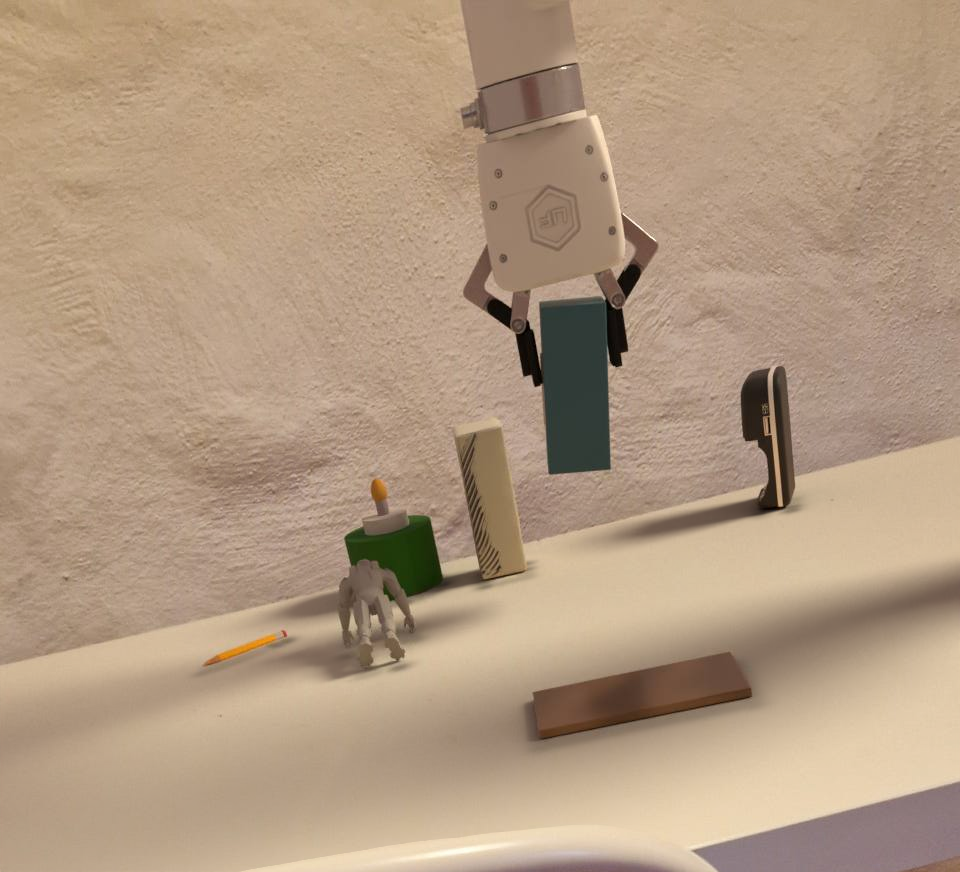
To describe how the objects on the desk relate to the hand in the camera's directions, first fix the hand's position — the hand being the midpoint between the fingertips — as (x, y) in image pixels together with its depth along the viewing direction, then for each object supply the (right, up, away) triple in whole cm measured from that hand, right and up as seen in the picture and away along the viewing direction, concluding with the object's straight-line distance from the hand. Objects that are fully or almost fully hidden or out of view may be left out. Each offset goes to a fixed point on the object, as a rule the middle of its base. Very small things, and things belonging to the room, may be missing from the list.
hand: (576, 372), depth 111 cm
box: (-5, -9, +20) cm, 23 cm away
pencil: (-29, -18, +15) cm, 37 cm away
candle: (-15, -10, +23) cm, 29 cm away
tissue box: (+2, -1, +1) cm, 3 cm away
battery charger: (+20, -2, +21) cm, 29 cm away
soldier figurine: (-16, -20, +7) cm, 27 cm away
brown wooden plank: (+3, -30, -16) cm, 34 cm away
